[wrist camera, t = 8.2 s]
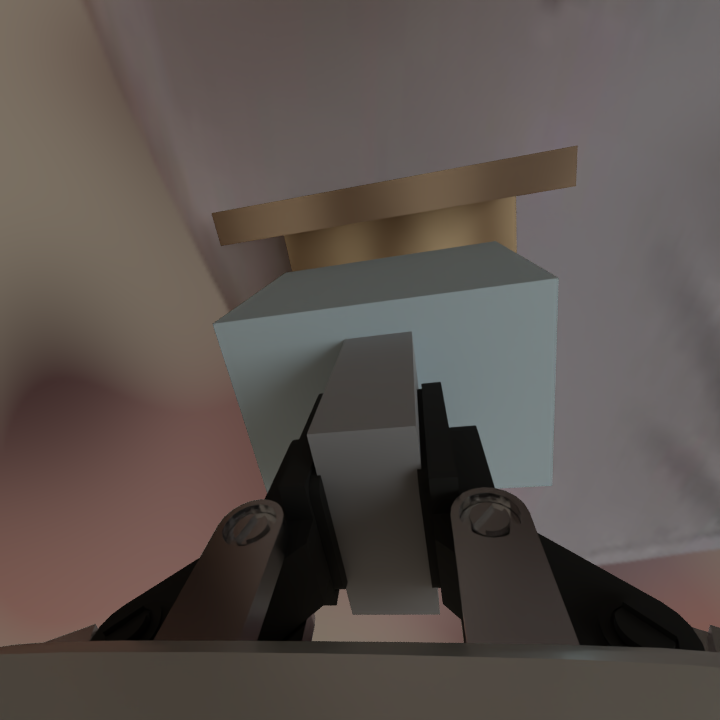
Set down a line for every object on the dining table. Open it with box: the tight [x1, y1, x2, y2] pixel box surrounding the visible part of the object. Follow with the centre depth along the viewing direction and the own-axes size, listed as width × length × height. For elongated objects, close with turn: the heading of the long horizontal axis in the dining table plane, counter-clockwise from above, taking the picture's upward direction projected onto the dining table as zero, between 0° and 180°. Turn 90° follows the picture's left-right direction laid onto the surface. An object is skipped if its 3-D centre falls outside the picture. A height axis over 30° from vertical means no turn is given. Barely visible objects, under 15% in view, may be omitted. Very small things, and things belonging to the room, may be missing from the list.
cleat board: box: [212, 146, 577, 272], centre depth 25 cm, size 16×12×12 cm
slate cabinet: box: [213, 241, 559, 615], centre depth 14 cm, size 10×7×13 cm
